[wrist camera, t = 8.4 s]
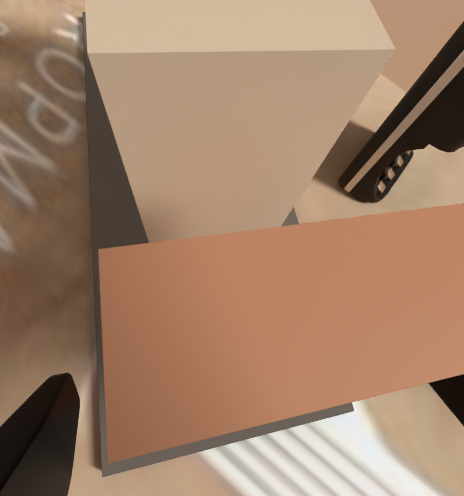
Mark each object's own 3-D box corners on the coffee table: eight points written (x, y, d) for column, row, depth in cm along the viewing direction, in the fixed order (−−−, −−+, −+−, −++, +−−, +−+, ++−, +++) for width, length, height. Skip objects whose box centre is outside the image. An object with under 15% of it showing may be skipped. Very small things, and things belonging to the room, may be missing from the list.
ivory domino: (252, 270, 17) (395, 49, 5) (162, 284, 16) (87, 53, 4) (244, 238, 18) (357, -23, 6) (158, 249, 17) (83, -34, 5)
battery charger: (378, 220, 20) (582, 63, 10) (332, 187, 21) (477, 3, 10) (419, 159, 23) (617, -20, 12) (377, 130, 23) (532, -65, 13)
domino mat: (348, 409, 16) (354, 410, 15) (105, 472, 14) (102, 477, 13) (235, 21, 26) (236, 13, 25) (85, 20, 24) (82, 11, 23)
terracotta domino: (273, 363, 16) (556, 350, 4) (174, 384, 15) (107, 463, 3) (264, 324, 16) (477, 202, 4) (169, 341, 15) (98, 249, 3)
